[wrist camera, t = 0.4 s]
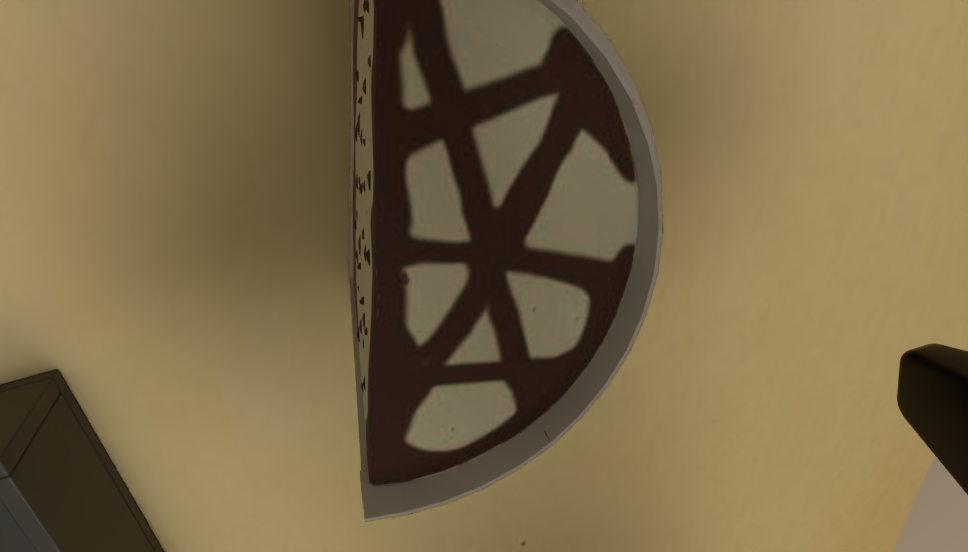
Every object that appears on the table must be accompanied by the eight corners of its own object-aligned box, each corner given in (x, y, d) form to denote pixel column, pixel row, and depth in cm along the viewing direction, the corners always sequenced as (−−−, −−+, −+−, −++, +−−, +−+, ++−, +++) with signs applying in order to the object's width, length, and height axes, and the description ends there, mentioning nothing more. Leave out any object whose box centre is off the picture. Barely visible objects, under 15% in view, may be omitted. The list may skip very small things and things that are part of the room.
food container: (522, 316, 25) (633, 516, 16) (349, 321, 23) (364, 541, 15) (566, -62, 20) (762, -80, 11) (350, -84, 18) (373, -125, 10)
